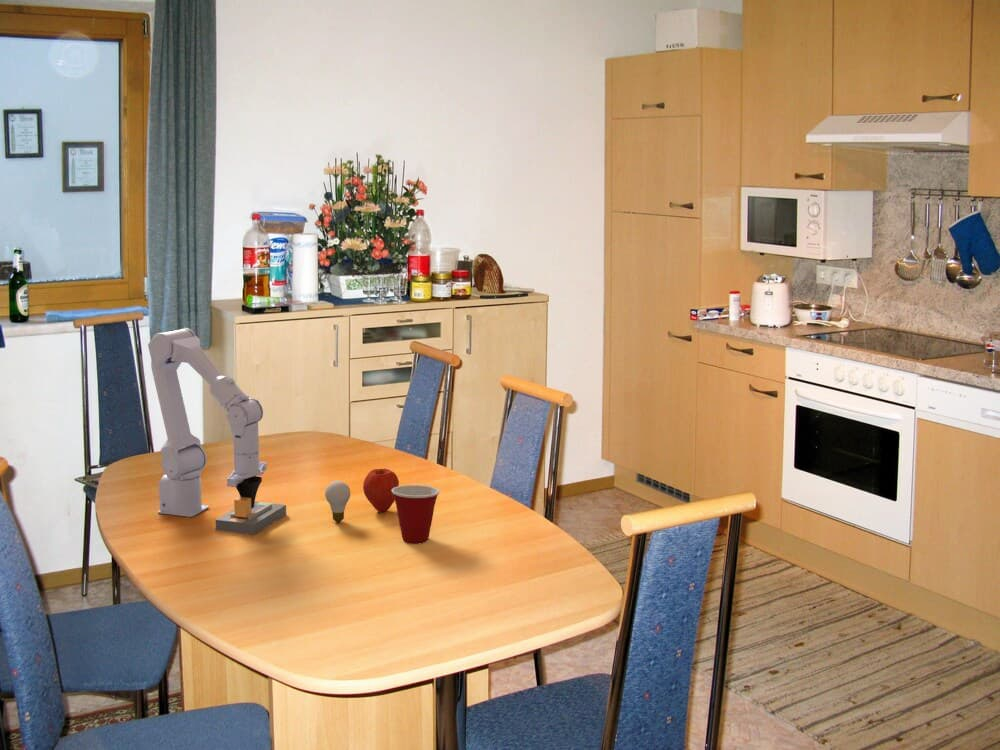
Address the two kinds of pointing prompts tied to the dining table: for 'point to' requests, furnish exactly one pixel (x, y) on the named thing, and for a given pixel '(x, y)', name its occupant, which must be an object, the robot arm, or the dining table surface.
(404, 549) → the dining table surface
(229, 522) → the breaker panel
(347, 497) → the light bulb
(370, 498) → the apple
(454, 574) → the dining table surface
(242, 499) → the handle
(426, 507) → the plastic cup
